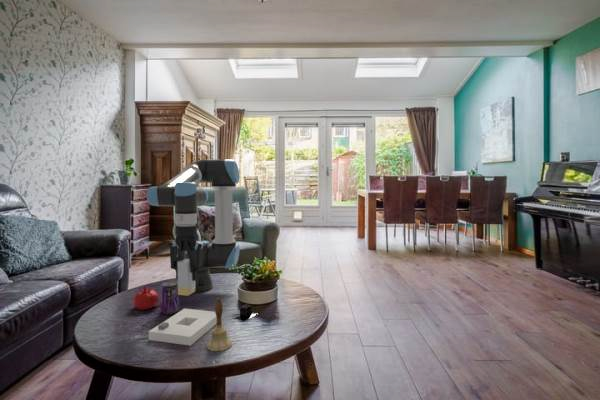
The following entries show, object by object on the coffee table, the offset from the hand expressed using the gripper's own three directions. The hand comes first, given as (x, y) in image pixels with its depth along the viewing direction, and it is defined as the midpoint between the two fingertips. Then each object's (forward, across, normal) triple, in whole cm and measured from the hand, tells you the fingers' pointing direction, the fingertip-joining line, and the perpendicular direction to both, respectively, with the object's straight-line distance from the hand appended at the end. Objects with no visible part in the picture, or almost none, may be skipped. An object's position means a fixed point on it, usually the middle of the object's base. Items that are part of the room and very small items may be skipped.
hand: (186, 288), depth 129 cm
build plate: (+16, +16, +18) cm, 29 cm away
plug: (+2, 0, 0) cm, 2 cm away
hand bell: (+16, +17, -8) cm, 25 cm away
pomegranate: (+15, -29, +15) cm, 36 cm away
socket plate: (+15, 0, 0) cm, 15 cm away
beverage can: (+15, -16, +13) cm, 26 cm away
